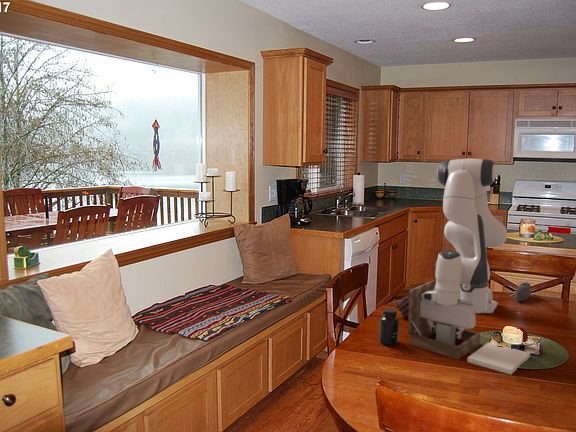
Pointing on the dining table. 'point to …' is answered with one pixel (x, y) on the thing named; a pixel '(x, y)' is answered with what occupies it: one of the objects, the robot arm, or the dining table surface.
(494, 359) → the cutting board
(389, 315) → the supplement bottle
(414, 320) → the walnut box
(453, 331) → the block
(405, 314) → the pine cone
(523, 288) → the perforated stone tool
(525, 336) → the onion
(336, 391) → the dining table surface
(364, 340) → the dining table surface
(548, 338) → the dining table surface
